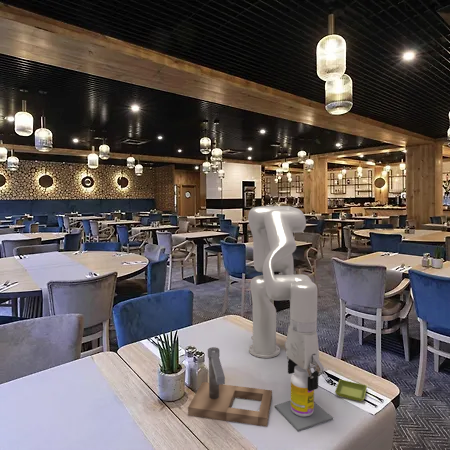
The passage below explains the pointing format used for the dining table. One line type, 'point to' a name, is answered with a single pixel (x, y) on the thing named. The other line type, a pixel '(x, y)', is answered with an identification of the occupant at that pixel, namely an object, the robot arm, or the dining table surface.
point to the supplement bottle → (301, 393)
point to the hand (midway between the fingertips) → (302, 380)
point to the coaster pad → (300, 421)
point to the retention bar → (216, 365)
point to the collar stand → (229, 402)
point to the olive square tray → (351, 390)
